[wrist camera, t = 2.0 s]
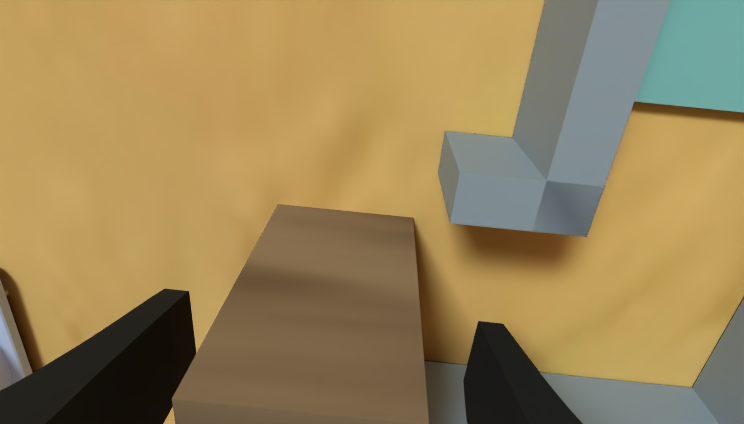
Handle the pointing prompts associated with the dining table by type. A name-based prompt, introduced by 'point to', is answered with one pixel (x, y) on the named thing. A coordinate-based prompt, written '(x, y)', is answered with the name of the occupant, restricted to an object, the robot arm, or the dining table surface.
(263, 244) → the block
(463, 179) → the grey open rectangular frame
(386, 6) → the dining table surface
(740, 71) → the pad
